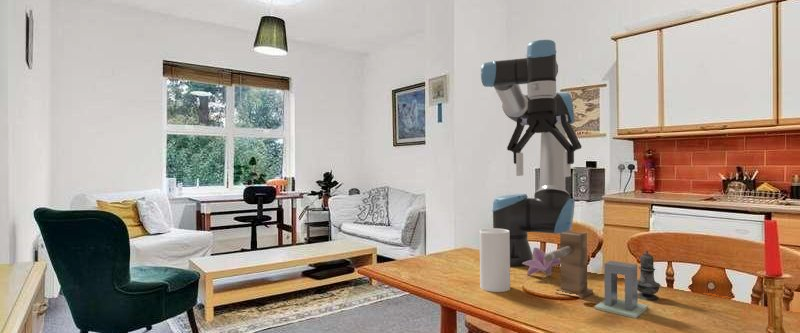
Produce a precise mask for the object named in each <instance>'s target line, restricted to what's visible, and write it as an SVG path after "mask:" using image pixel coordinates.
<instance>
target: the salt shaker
mask: <svg viewBox="0 0 800 333" xmlns="http://www.w3.org/2000/svg"><path fill="white" fill-rule="evenodd" d="M638 269H639V270H640V271H639V272H640V273H639V274H640V275H639V278H638V279H637V293H638V299H640V300H644V301H653V302H654V301H656V302H657V301H659V300H660V297H659V296H657V295H656V294H657V293H658V292H659V290H660V287H661V286H662V285H661V283H659V282H657V281H656V280H655V270H656V268H654V257H653V255H651V254H650V253H649V251H648V250H646V251H645V253H644V254H643V253H642V254H641V256H640V266H639V268H638Z"/></svg>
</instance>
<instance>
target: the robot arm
mask: <svg viewBox="0 0 800 333" xmlns="http://www.w3.org/2000/svg"><path fill="white" fill-rule="evenodd" d="M556 46H557V45H556V42H555V41H554V40H551V39H540V40H534V41H531V42H529V43H528V45H527V46H526V47H527V48H526V55H525V56H526V57H524V58H515V59H504V60H492V61H488V62H483V63H482V65H481V67H480V80H481V83H482V86H484V87H485V88H488V87H489V88H494V89H495V92H496V94H497V95H498V97H499V99H500V101H501V103H502V107H501V108H502V111H503V113H504V114H505V116H506V117H507V118H509V119H510V120H511V121H513V122H515V123H516V126H515V129H514V131H513V133H512V136H511V137H510V140H509V143H508V145H507V147H506V150H507V151H510V152H511V153H513V154H512V155H513V164H514V165H515V166H516V177H520V176H521V177H522V176H524V153H523V152H522V151H523V148H524V147H525V146H526V145H527V143H528V142H529V141H530V139H531V138H532V137H533V135H535V134H540V152H539V154H540V155H539V156H540V157H539V158H540V159H539V181H538V182H539V184H538V187H539V188H538V189H537V190H536V191H535V192H534V196H533V197H531V198H530V197H528V195H527V193H515V194H507V195H501V196H498V197H496V198H494V199H493V201H492V202H493V203H492V228H498V229H506V230H509V232H510V267H521V266H525V265H524V264H522V263H523V262H526V261H529V260H533V251H532V249H531V247H530V244H529V241H528V233H541V234H555V235H557V234H560V233H563V232H566V231H572V228H573V227H572V226H573V222H574V221H573V220H574V216H575V215H574V214H575V202H576V200H574V199H573V198H571V193H570V192H568V190H566V178H569V177H571V176H572V175H571V174H572V173H571V167H572V166H571V165H574V163H575V152H576V151H577V150H580V149H582V144H581V142H580V140H579V139H578V137H577V134H576V133H575V131H574V129H573V127H572V124H574V123H575V113H574V112H575V110H574V104H573V99H572V95H571V94H570V93H568V92H557V77H558V76H557V75H558V73H559V65H558V63H557V62H558V61H557V47H556ZM520 85H526V86H527V87H526V88H527V91H526V92H527V94H526V95H525V94H524V93H523V92H522V89H521V87H520ZM525 126H528V127H527V128H526V130H525V132H524V129H525ZM523 132H524V133H523ZM522 133H523V135H522ZM567 138H568V139H567ZM569 141H570V142H569Z"/></svg>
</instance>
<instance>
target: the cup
mask: <svg viewBox="0 0 800 333" xmlns="http://www.w3.org/2000/svg"><path fill="white" fill-rule="evenodd" d="M479 287H480V289H481V290H483V291H486V292H489V293H490V292H491V293H502V292H503V293H504V292H509V291H510V290H511V266H510V232H509V230H506V229H498V228H493V227H492V228H491V227H490V228H489V227H488V228H481V229H479Z"/></svg>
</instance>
